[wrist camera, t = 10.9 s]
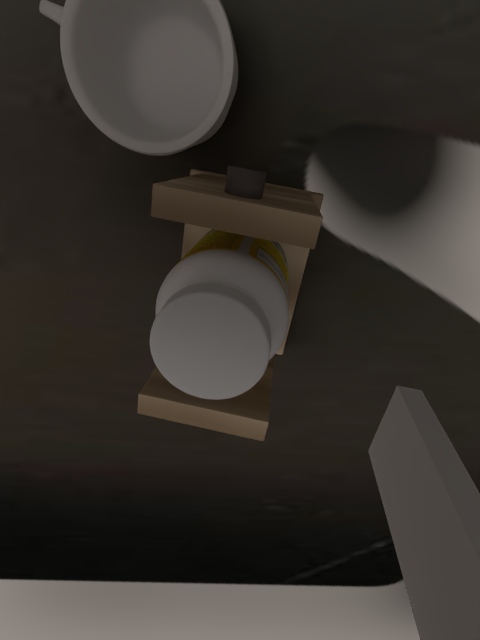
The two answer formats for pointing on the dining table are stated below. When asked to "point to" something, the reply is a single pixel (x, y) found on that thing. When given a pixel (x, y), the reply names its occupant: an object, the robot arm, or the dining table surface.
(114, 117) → the teacup
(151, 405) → the holder
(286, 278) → the pill bottle
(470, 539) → the robot arm
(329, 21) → the dining table surface
